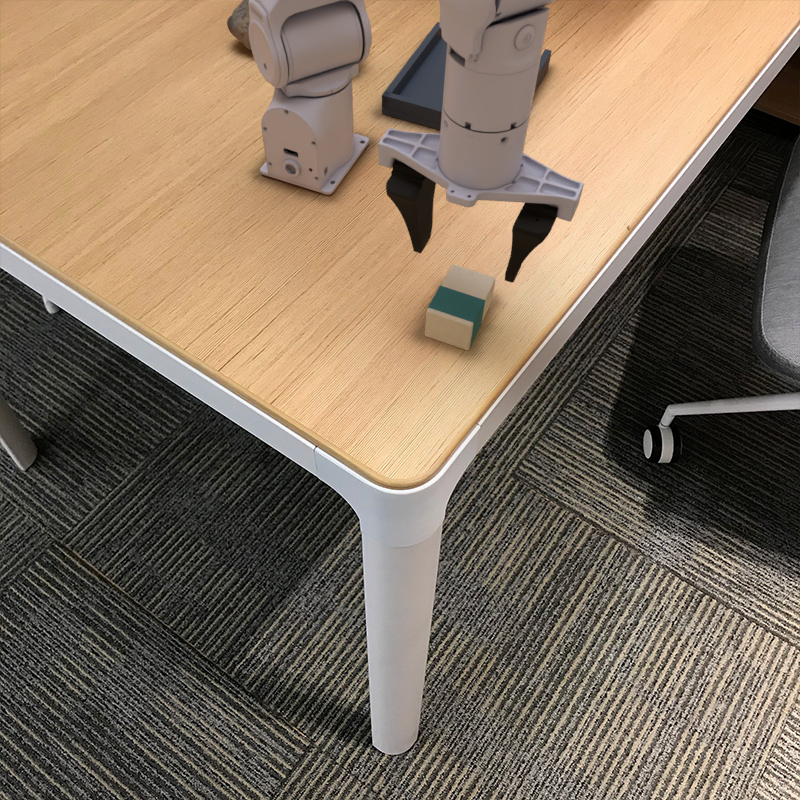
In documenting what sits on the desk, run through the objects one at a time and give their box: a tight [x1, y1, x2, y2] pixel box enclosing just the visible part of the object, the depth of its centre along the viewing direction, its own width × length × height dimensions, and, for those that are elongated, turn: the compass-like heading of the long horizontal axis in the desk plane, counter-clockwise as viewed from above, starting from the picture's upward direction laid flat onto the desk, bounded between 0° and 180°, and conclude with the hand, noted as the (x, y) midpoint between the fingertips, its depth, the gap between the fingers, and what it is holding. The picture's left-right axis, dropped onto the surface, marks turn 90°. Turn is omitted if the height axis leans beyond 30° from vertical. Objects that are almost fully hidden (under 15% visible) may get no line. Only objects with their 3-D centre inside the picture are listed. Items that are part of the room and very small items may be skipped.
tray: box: [381, 21, 552, 131], centre depth 85 cm, size 16×14×2 cm
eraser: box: [424, 263, 497, 351], centre depth 65 cm, size 4×6×3 cm
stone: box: [226, 0, 252, 51], centre depth 88 cm, size 10×5×8 cm
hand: (466, 258), depth 61 cm, fingers open, 7 cm apart
